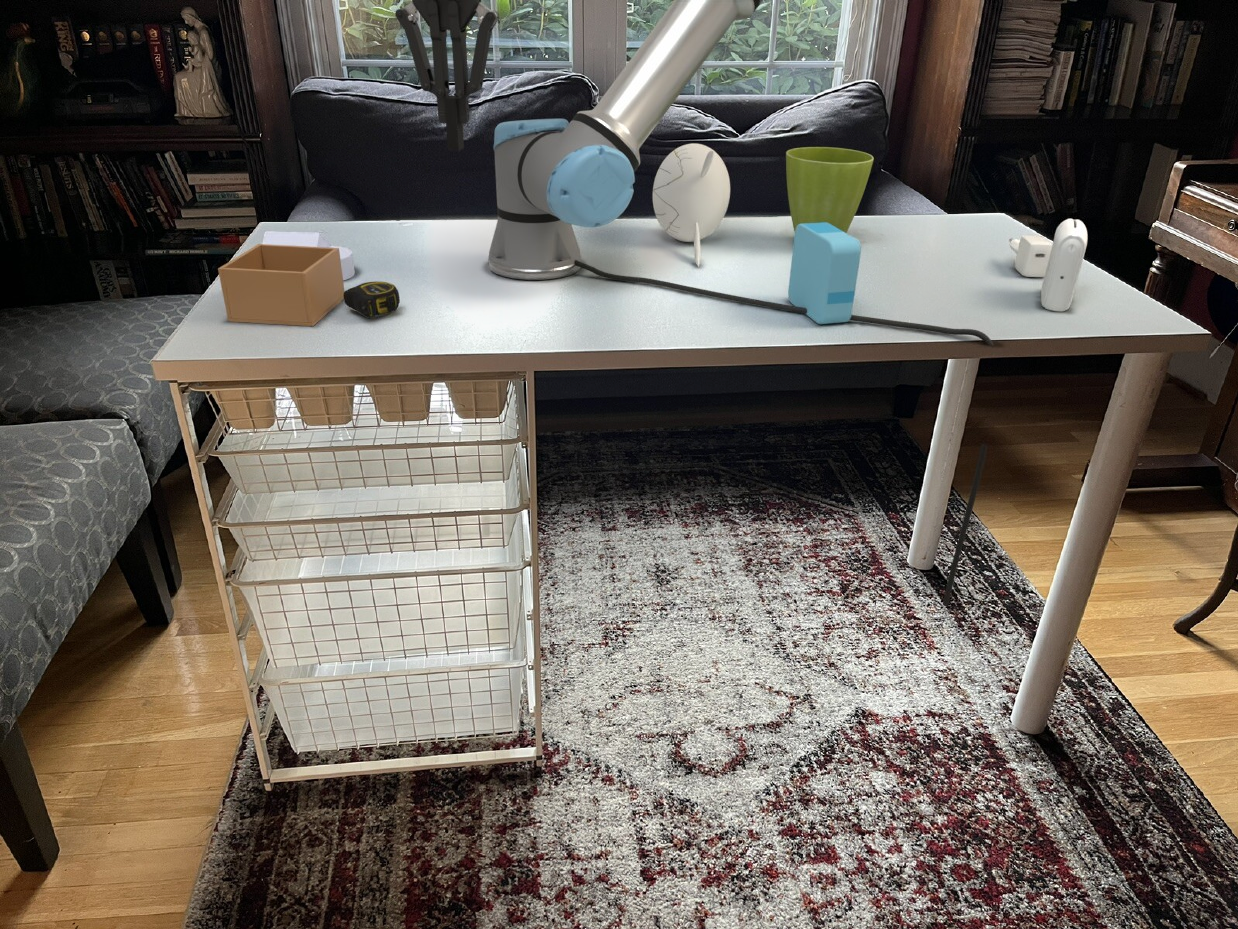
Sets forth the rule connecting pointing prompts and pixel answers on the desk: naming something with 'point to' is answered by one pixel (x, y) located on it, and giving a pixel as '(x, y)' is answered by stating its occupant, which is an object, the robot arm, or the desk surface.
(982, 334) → the robot arm
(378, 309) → the tape measure
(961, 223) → the desk surface
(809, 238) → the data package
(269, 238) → the wedge on round base
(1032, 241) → the power adapter
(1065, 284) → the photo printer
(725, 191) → the cracked egg ornament
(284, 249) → the box
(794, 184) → the flower pot
